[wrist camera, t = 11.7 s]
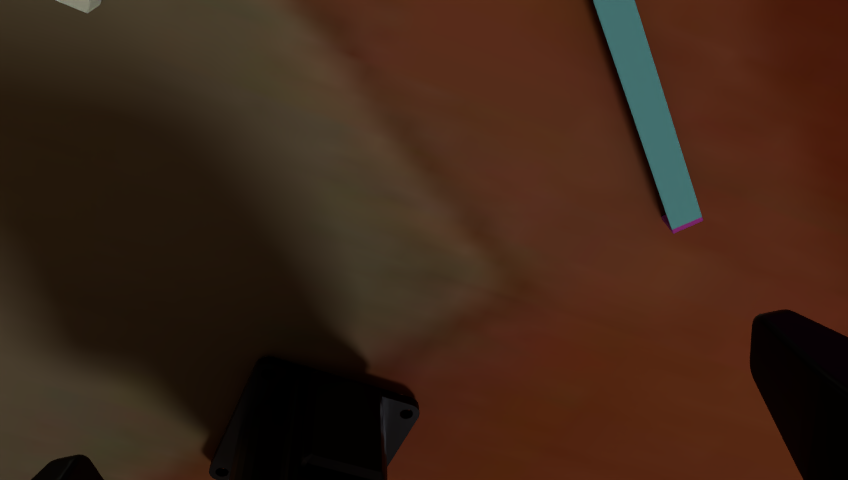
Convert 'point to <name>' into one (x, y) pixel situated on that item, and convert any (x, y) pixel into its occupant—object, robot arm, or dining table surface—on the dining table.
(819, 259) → the dining table surface
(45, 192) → the dining table surface
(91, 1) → the sage board
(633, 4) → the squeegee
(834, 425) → the robot arm
